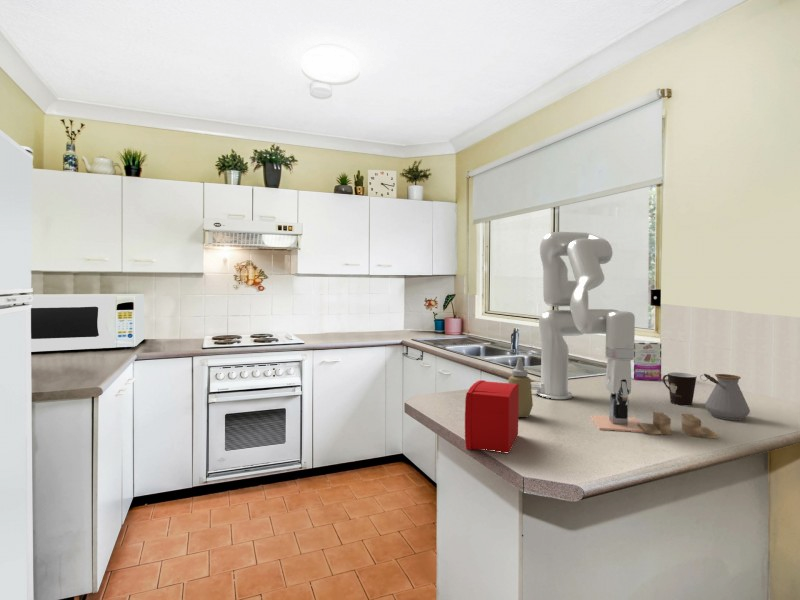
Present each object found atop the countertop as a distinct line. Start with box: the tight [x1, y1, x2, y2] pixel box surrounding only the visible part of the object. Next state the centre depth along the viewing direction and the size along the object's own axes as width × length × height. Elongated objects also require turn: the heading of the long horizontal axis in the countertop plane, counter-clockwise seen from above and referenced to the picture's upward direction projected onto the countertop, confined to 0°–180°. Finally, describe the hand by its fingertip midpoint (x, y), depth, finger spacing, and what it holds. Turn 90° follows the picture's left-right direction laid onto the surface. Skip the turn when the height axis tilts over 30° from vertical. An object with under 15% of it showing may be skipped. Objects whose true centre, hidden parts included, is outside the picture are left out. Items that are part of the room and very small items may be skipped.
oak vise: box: [637, 411, 719, 440], centre depth 128 cm, size 18×7×4 cm, turn 78°
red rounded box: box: [464, 380, 519, 453], centre depth 119 cm, size 16×11×15 cm
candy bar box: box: [631, 341, 662, 382], centre depth 201 cm, size 11×5×16 cm, turn 81°
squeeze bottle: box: [507, 357, 534, 418], centre depth 143 cm, size 8×8×18 cm
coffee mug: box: [662, 372, 697, 406], centre depth 161 cm, size 12×9×10 cm
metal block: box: [608, 396, 630, 425], centre depth 135 cm, size 4×4×7 cm
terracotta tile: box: [589, 414, 644, 433], centre depth 135 cm, size 13×13×1 cm
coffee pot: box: [699, 373, 751, 421], centre depth 141 cm, size 21×12×15 cm, turn 123°
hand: (618, 414), depth 135 cm, fingers open, 5 cm apart
